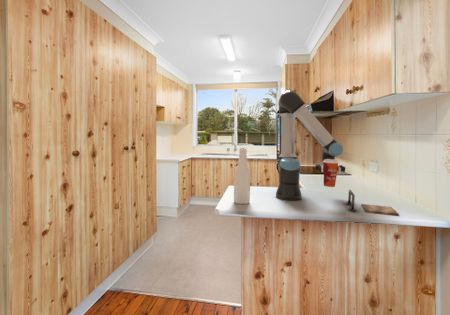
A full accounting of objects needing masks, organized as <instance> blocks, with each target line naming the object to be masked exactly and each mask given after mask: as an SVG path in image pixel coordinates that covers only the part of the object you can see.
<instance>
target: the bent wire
mask: <svg viewBox="0 0 450 315" xmlns="http://www.w3.org/2000/svg"><path fill="white" fill-rule="evenodd" d="M355 197H356V196H355V194H354V192H353V191H352V190H351V189H348V197H347V198H348V200H347V201H345V205H346V206H350V207H348V211H349V212H352V213H357V209H356V207H355Z"/></svg>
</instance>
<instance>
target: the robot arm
mask: <svg viewBox="0 0 450 315" xmlns="http://www.w3.org/2000/svg"><path fill="white" fill-rule="evenodd" d="M277 102H278V104H277V105H278V115H279V116H280V117H281V119H280V121H281V122H280V128H281V130H280V131H281V132H280V137H281V138H280V155H278V164H277V168H278V170H277V171H278V172H279V180H278V182H279V184H278V186H277V189H276V192H275V197H276V198H278V199H279V200H280V199H281V200H284V201H299V200H302V191H301V189H300V188H301V187H300V174H301V173H300V169H301V161H300V160H299V159H298V156H297V155H296V153H295V150H296V148H295V147H296V146H295V145H296V143H295V142H296V137H295V135H296V132H295V131H296V129H295V128H296V126H295V125H296V119H298V120H299V121H300V122H301V123H302V125H303V126H304V127H305V128H306V129H307V130H308V131H309V133H311V135H312V136H313V137H314V138H315V139H316V141H317V142H318V143H319V144H320V145H321V147H322V152H321V153H322V157H321V164H320V163H317V164H316V165H315V170H316V171H318V172H321V173H324V162H323V161H324V160H325V159H333V160H336V157H339V156H341V155H342V154H343V152H344V148H343V145H342V144H341V143H339V142H338V141H337V140H336V139H334V137H333V136H332V135H331V133H329V131H328V130H327V129H326V128H325V127H324V125H322V124H321V122H320V121H319V120H318V118H316V117H315V115H314V114H313V113H312V112H311V111H310V110H309V108H308V107H307V104H306V102H305V101H304V100H303V98H302V97H301V96H300V94H299V93H297V92H296V91H294V90H291V89H290V90H286V91H284V92H283V93H282V94H281V95H280V97H279V99H278V101H277ZM342 172H343V173H346V166H344V165H340V164H338V169H337V174H341V173H342Z"/></svg>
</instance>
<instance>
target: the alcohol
mask: <svg viewBox="0 0 450 315" xmlns="http://www.w3.org/2000/svg"><path fill="white" fill-rule="evenodd" d="M238 152H239V154H238V163H237V165H236V167H235V168H234V173H233V174H234V177H233V178H234V179H233V183H234V184H233V203H234V204H237V205H247V204H249V203H250V202H251V201H250V198H251V168H250V166H249V165H248V159H247V158H248V156H247V152H248V151H247V148H246V147H240V148H239V151H238Z"/></svg>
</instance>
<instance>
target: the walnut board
mask: <svg viewBox="0 0 450 315" xmlns="http://www.w3.org/2000/svg"><path fill="white" fill-rule="evenodd" d="M360 207H362V209H363V211H364V212H365V213H369V214H370V213H371V214H379V215H389V216H399V214H400V213H399V212H397V210H395V209H394V208H393V207H392V206H389V205H388V206H386V205H379V204H378V205H377V204H376V205H375V204H366V203H361V205H360Z"/></svg>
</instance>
